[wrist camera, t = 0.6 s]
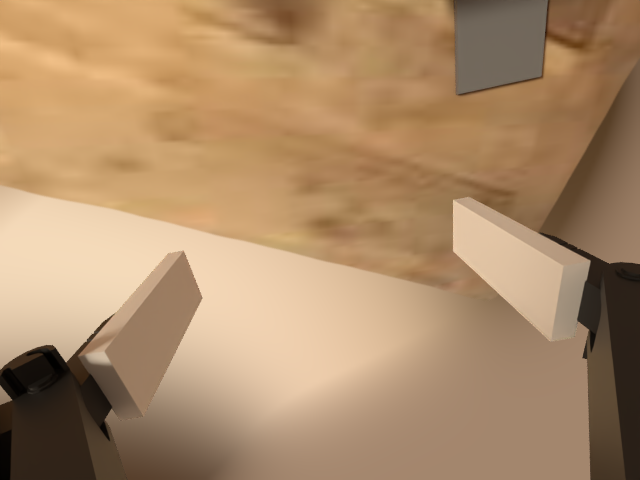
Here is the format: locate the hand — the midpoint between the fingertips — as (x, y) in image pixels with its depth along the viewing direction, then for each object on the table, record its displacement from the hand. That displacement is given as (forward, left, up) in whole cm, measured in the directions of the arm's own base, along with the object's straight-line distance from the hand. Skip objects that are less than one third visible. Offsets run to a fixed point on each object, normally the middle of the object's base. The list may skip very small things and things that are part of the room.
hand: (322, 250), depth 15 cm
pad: (-9, +24, -26) cm, 37 cm away
